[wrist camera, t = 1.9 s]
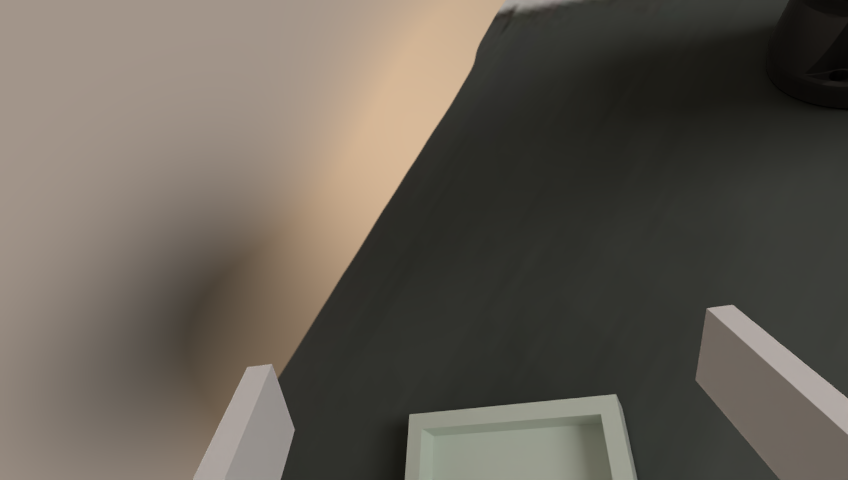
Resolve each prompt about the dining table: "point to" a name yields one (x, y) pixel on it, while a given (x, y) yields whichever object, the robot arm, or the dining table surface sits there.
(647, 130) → the dining table surface
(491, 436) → the parts tray
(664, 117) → the dining table surface
